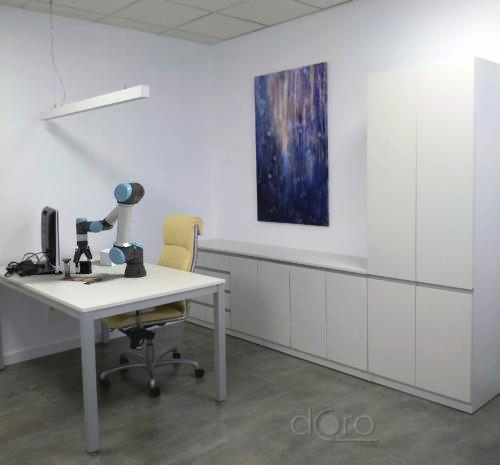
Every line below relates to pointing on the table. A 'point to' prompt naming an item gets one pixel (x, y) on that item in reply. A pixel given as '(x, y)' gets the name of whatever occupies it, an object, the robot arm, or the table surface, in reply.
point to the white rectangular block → (105, 258)
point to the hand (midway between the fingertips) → (83, 270)
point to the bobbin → (67, 268)
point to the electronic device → (85, 267)
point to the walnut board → (83, 279)
